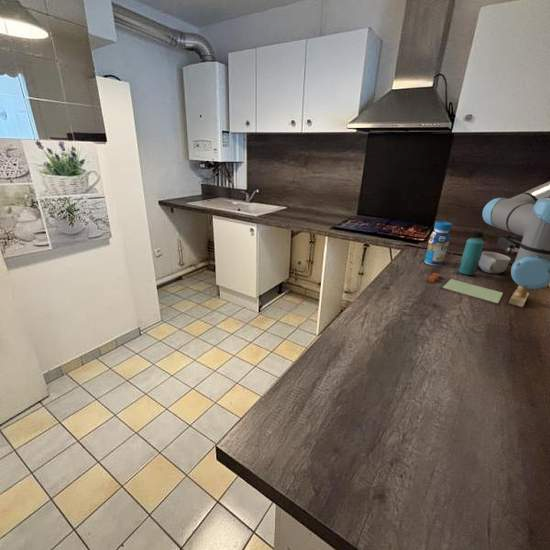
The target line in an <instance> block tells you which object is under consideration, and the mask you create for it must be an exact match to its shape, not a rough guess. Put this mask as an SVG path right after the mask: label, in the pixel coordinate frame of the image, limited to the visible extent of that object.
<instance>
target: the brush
mask: <svg viewBox="0 0 550 550" xmlns="http://www.w3.org/2000/svg"><path fill="white" fill-rule="evenodd" d="M517 285H518V284H517ZM529 290H530V289H529V288H524V287H522V286H520V285H518V286H517V288H516V289H515V290H514V292H513V293H512V295H511V297H510V299H509V301H508V304H511V305H514V306H518V307H520V308H523V307H524V306H525V304H526V301H527V300H528V298H529V295H530V293H529Z"/></svg>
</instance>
